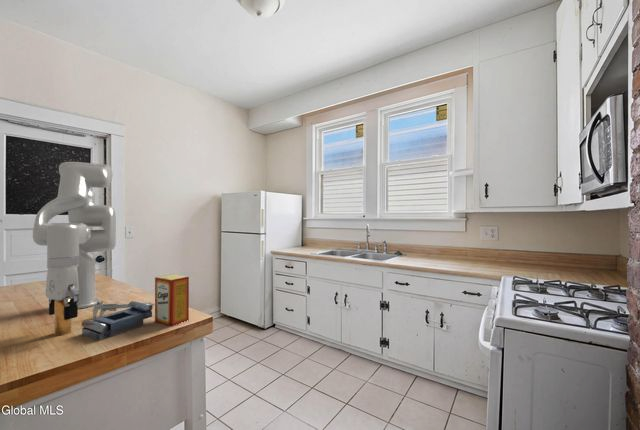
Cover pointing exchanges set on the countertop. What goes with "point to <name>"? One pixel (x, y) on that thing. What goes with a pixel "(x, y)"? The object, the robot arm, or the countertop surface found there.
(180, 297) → the baking soda box
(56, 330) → the gold tall block
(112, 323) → the grey bench vise
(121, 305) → the caliper
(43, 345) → the countertop surface
